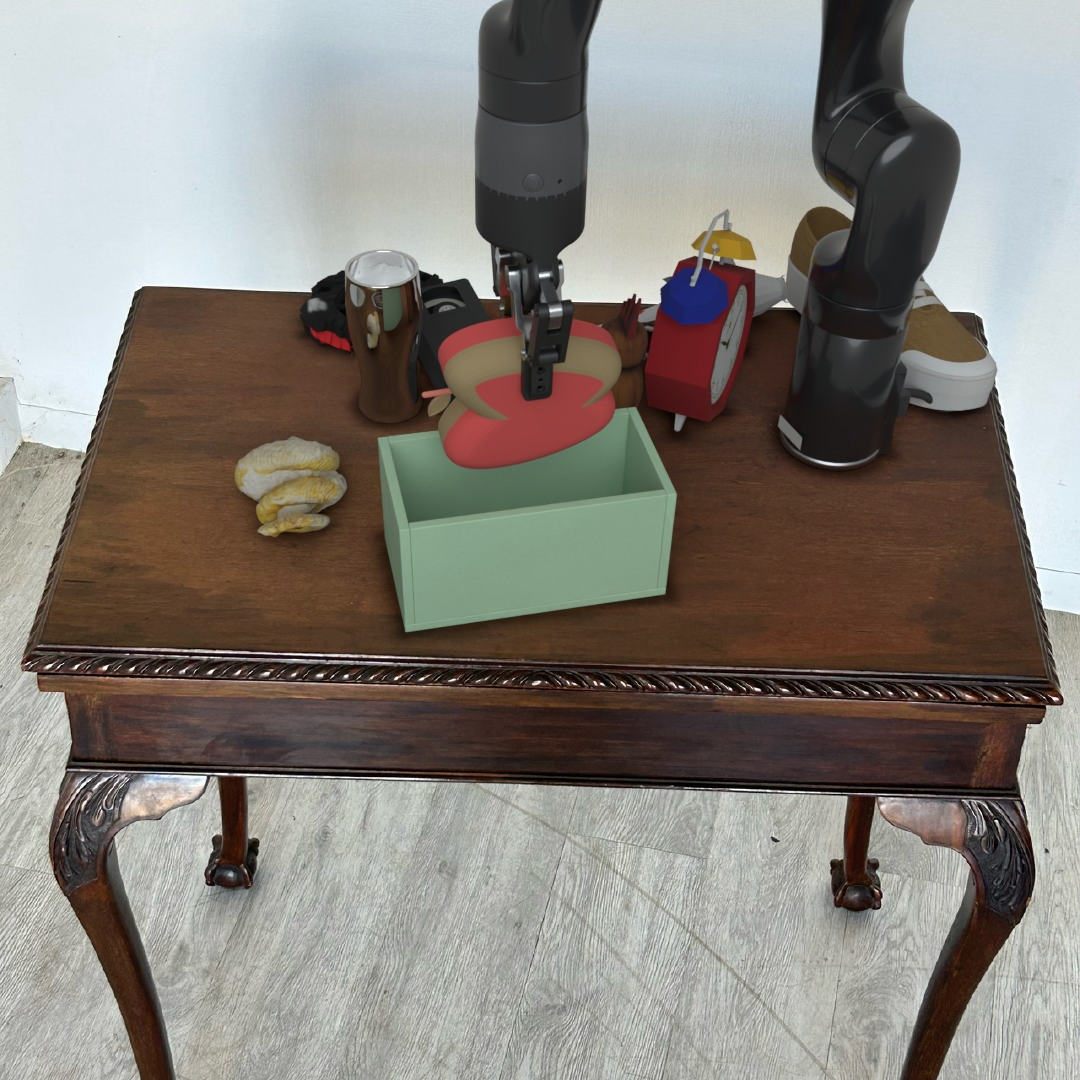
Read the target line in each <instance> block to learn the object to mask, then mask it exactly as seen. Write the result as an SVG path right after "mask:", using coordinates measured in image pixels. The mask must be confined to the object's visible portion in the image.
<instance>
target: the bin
mask: <svg viewBox="0 0 1080 1080" xmlns="http://www.w3.org/2000/svg"><path fill="white" fill-rule="evenodd" d="M377 447H378V462H379V476H380V489H381V490H380V491H381V504H382V519H383V531H384V533H383V535H384V541H385V545H386V550H387V554H388V558H389V563H390V564H389V565H390V568H391V573H392V577H393V581H394V587H395V591H396V595H397V601H398V604H399V610H400V613H401V617H402V622H403V628H404V632H405V633H411V632H417V631H424V630H431V629H438V628H444V627H445V628H446V627H451V626H459V625H465V624H471V623H473V624H474V623H479V622H486V621H493V620H500V619H507V618H513V617H520V616H527V615H534V614H541V613H548V612H554V611H562V610H568V609H575V608H581V607H589V606H595V605H603V604H609V603H615V602H623V601H629V600H636V599H643V598H650V597H656V596H664V595H666V591H667V585H668V584H667V583H668V575H669V566H670V558H671V547H672V541H673V532H674V523H675V515H676V505H677V497H678V493H677V491H676V489H675V487H674V485H673V482H672V481H671V478H670V476H669V474H668V472H667V470H666V468H665V466H664V464H663V461H662V459H661V457H660V455H659V453H658V451H657V449H656V447H655V444H654V443H653V440H652V439H651V436H650V433H649V432H648V430H647V427H646V425H645V423H644V421H643V419H642V417H641V414H640V413H639V411H638V408H636V407H631V408H621V409H615V412H614V415H613V418H612V420H611V421H610V422H609V423H608V425H607V426H606V427H605V428H603V429H602V430H601V431H600V432H598V433H597V434H595V435H593V436H592V437H590V438H588V439H586V440H584V441H582V442H580V443H578V444H576V445H574V446H572V447H570V448H567V449H565V450H562V451H560V452H557V453H554V454H551V455H549V456H546V457H542V458H539V459H536V460H532V461H529V462H525V463H521V464H516V465H511V466H506V467H500V468H492V469H470V468H464V467H460V466H458V465H456V464H455V463H453V462H452V461H451V460H450V459H449V458H448V457H447V455H446V453H445V451H444V448H443V445H442V442H441V438H440V435H439V431H438V429H437V430H430V431H429V430H428V431H421V432H412V433H404V434H396V435H388V436H381V437H377Z"/></svg>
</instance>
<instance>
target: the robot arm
mask: <svg viewBox="0 0 1080 1080" xmlns="http://www.w3.org/2000/svg"><path fill="white" fill-rule="evenodd" d="M603 1H604V0H500V1H497V2H496V3H494V4H493V5H491V6H490V7H489V8H488V9H487V10H486V11H485V13H484V14H483V16H482V18H481V20H480V25H479V29H478V34H477V35H478V36H477V93H478V94H477V95H478V96H477V109H476V110H477V111H476V119H475V125H474V217H475V218H474V222H475V223H474V224H475V228H476V230H477V233H478V234H479V236H480V237H481V238H482V239H483V240H484V241H486V242H487V243H489V244H490V257H491V269H492V284H493V285H492V291H493V293H494V296H495V297H496V298H499V305H498V311H499V313H500V315H501V317H502V318H512V323H513V325H514V326H515V327H516V328H517V329H518V330H519V331H520V346H521V349H520V355H521V394H522V396H523V398H524V400H526V401H534V400H540V399H546V398H549V397H550V396H551V395H552V383H553V364H558V363H564V362H565V359H566V354H567V348H568V342H569V337H570V331H571V326H572V320H573V319H574V314H575V313H574V312H575V305H574V303H573V300H572V299H570V298H568V299H563V294H562V286H563V285H564V283H565V268H564V262H563V260H562V259H561V258H558V256H559V255H560V253H561V252H563V250H565V249H566V248H568V247H569V246H570V245H572V244H574V243H575V242H576V241H577V240H579V238H580V237H581V236H582V234H583V232H584V230H585V226H586V211H587V191H588V190H587V189H588V170H589V169H588V167H589V148H590V130H589V129H590V128H589V119H588V117H589V116H588V92H589V91H588V89H589V70H590V69H589V67H590V41H591V38H592V35H593V31H594V29H595V26H596V23H597V21H598V17H599V15H600V11H601V9H602V5H603ZM914 2H915V0H821V7H820V9H821V11H820V12H821V21H820V22H821V26H820V27H821V29H820V30H821V31H820V32H821V33H820V49H819V58H818V59H819V60H818V71H817V79H816V89H815V97H814V107H813V116H812V126H811V154H812V160H813V164H814V168H815V169H816V172H817V173H818V175H819V177H820V178H821V180H822V181H823V182H824V184H825V185H826V186H827V187H828V188H830V189H831V191H833V192H834V193H836V195H838V196H839V197H840V198H841V199H843V200H844V201H845V202H846V203H848V204H849V205H850V206H852V207H853V208H854V210H853V215H852V224H851V228H850V229H844V230H840V231H836V232H832V233H830V234H828V235H826V236H825V237H823V238H822V239H821V240H820V241H819V242H818V243H817V244H816V246H815V248H814V250H813V253H812V258H811V263H810V269H809V274H808V280H807V286H806V291H805V297H804V303H803V309H802V314H800V320H799V325H798V326H799V327H798V333H797V337H796V344H795V349H794V355H793V361H792V366H791V371H790V372H791V373H790V377H789V383H788V390H787V394H786V395H787V396H786V401H785V407H784V412H783V414H779V418H778V424H777V427H778V428H779V429H780V430H779V440H780V443H781V445H782V447H783V449H785V450H786V452H788V453H789V455H791V456H792V457H793V458H794V459H796V460H798V461H799V462H801V463H804V464H806V465H808V466H810V467H813V468H817V469H821V470H825V471H826V470H827V471H836V472H839V471H840V472H842V471H844V472H845V471H852V470H856V469H861V468H863V467H866V466H867V465H870V464H871V463H872V462H873V461H874V460H876V458H877V457H878V456H883V455H887V454H889V449H890V446H891V441H892V437H893V433H894V429H895V425H896V420H897V419H898V418H902V417H905V416H907V414H908V408H909V405H910V403H909V401H910V397H913V398H918V399H922V400H924V401H926V402H927V403H928V404H932V402H933V398H932V396H931V394H930V393H928V392H925V391H922V390H918V389H913V388H904V384H905V380H906V376H907V367H906V366H905V364H904V363H903V362H902V360H901V355H902V351H903V347H904V343H905V338H906V334H907V330H908V326H909V321H910V317H911V313H912V308H913V304H914V300H915V296H916V292H917V287H918V283H919V280H920V278H921V276H922V275H923V276H924V273H925V272H926V270H927V269H928V267H929V266H930V264H931V263H932V261H933V259H934V257H935V255H936V252H937V249H938V247H939V244H940V240H941V237H942V233H943V229H944V228H945V227H944V226H945V224H946V220H947V217H948V215H949V210H950V207H951V204H952V201H953V196H954V195H955V191H956V187H957V184H958V179H959V175H960V169H961V162H962V161H961V159H962V150H961V142H960V138H959V135H958V134H957V131H956V130H955V129H954V127H952V125H951V124H950V123H949V122H947V121H946V120H945V119H943V118H942V117H940V116H939V115H938V114H936V113H934V112H933V111H931V110H930V109H929V108H927V107H925V106H924V105H922V104H921V103H919V102H918V101H917V100H915V99H913V98H912V97H911V96H909V94H908V92H907V89H906V84H905V77H904V76H905V73H904V50H905V34H906V33H905V32H906V25H907V19H908V17H909V13H910V11H911V8H912V5H913V4H914ZM530 331H531V333H530ZM932 410H933V411H935V412H937V413H941V414H947V413H952V412H954V411H944V410H935V409H932Z"/></svg>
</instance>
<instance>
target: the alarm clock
mask: <svg viewBox="0 0 1080 1080" xmlns="http://www.w3.org/2000/svg"><path fill="white" fill-rule="evenodd" d="M722 217H724V218H723V226H722V229H717V230H715V227H716V225H717V223H718V221H719V219H721V218H722ZM729 219H730V210H729V208H726V209H725V210H724V211H722V212H721V213H719V214H718V215H716V216H715V217H713V218H712V221H711V223H710V225H709V227H708V229H707V230H703V231H702V232H701V234H699V236H698V237H697V238H696V239H695V240H694V241H693V242H692V243H691V244H690V246H691V248H693V250H696V251H698V255H693V256H690V257H687V258H683V259H681V260H678V262H677V264H676V267H675V269H674V271H673V273H672V275H670V276H666V277H664V278H662V281H664V282H665V284H664V285H662V286H661V287H660V289H659V290H660V291H659V292H660V293H659V295H660V302H659V303H660V305H659V307H658V310H657V314H656V319H655V324H654V326H644V327H645V329H646V331H647V332H651V333H652V334H651V338H650V344H649V348H648V350H647V351H646V354H645V356H644V358H643V359H642V360H643V361H646V363H645V367H644V381H645V389H646V396H647V397H646V398H647V405H648V407H651V408H654V409H658V410H661V411H665V412H669V413H673V414H675V416H674V417H675V419H674V429H673V430H674V431H675V432H681V430H682V428H683V425H684V424H685V421H686V419H687V417H688V418H691V419H696V420H699V421H703V422H707V423H710V422H711V421H712V420H713V419H714V418H716V417H717V416H719V415H720V414H721V413H722V412H723V411H724V410H725V408H726V405H727V402H728V399H729V397H730V396H731V395H730V394H731V392H732V390H733V387H734V384H735V382H736V380H737V377H738V375H739V372H740V370H741V367H742V365H743V361H744V357H745V352H746V348H747V345H748V344H747V343H748V339H749V334H750V331H751V327H752V323H753V319H754V317H753V314H754V309H755V273H757V271H756V269H754V268H749V267H746V266H741V265H738V264H737V265H733V264H728V263H724V259H725V257H726V258H732V259H733V260H737V261H738V260H739V261H758V259H757V257H756V253H755V251H754V248H753V244H752V241H751V240H750V239H749V238H748V237H745V236H743V235H741V234H739V233H737V232H735V231H733V230H732V228H733V223H732V222H729ZM704 253H705V254H709V255H712V257H711V259H710V258H706V257H704ZM715 257H719V260H715Z"/></svg>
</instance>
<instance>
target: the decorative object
mask: <svg viewBox="0 0 1080 1080" xmlns="http://www.w3.org/2000/svg"><path fill="white" fill-rule="evenodd" d="M597 325H598V324H594V323H591V322H589V321H584V320H580V319H576V318H573V320H572V326H571V331H570V337H569V342H568V348H567V354H566V359H565V362H564V363H558V364H553V383H552V395H551V396H550V397H549V398H546V399H540V400H534V401H526V400H524V398H523V396H522V394H521V355H520V349H521V346H520V331H519V330H518V329H517V328H516V327H515V326H514V325H513V323H512V318H505V317H502V318H497V319H491V321H486V322H482V323H478V324H475V325H472V326H469V327H466V328H464V329H461V330H459V331H457V332H455V333H453V334H452V335H450V336H449V337H448V338H446V339H445V340H444V341H443V343H442V344H441V346H440V348H439V350H438V359H439V362H440V365H441V369H442V372H443V375H444V378H445V381H446V383H447V385H448V387H449V388H446V389H439V390H436V389H434V390H428V391H423V392H421V397H422V399H428V398H432V397H433V399H432V400H431V401H430V402H429V404H428V407H427V415H428V417H429V418H430V417H433V416H436V415H437V414H439V413H441V412H443V413H442V414H441V416H440V418H439V420H438V424H437V430H438V431H439V435H440V438H441V442H442V445H443V448H444V451H445V453H446V455H447V457H448V458H449V459H450V460H451V461H452V462H453V463H455V464H456V465H458V466H460V467H464V468H470V469H492V468H500V467H506V466H511V465H516V464H521V463H525V462H529V461H532V460H536V459H539V458H542V457H546V456H549V455H551V454H554V453H557V452H560V451H562V450H565V449H567V448H570V447H572V446H574V445H576V444H578V443H580V442H582V441H584V440H586V439H588V438H590V437H592V436H593V435H595V434H597V433H598V432H600V431H601V430H602V429H603V428H605V427H606V426H607V425H608V423H609V422H610V421H611V420H612V418H613V415H614V412H615V400H614V396H613V394H612V391H611V388H612V387H613V386H614V385H615V383H616V382H617V380H618V378H619V376H620V373H621V366H622V363H621V358H620V355H619V352H618V350H617V348H616V345H615V343H614V340H613V338H612V336H611V334H610V333H609V332H608V331H606V330H605V329H604V328H602V327H600V326H597ZM530 333H531V331H530ZM451 394H454V395H455V396H456V398H455V399H454V400H453V401H452V402H451V403H450V404H449V402H450V399H451ZM448 404H449V406H448ZM447 406H448V407H447ZM446 407H447V408H446ZM445 408H446V409H445Z"/></svg>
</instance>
